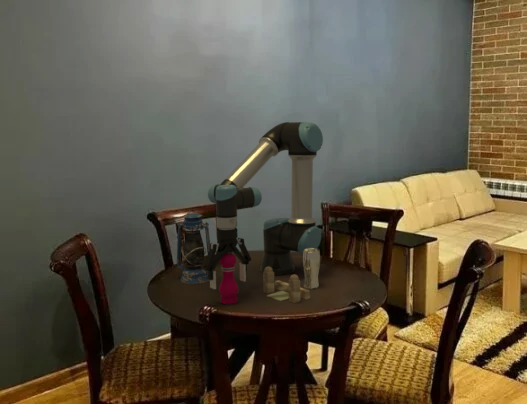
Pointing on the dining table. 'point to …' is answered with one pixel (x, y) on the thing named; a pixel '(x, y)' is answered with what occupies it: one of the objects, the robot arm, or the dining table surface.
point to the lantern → (193, 249)
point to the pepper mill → (228, 280)
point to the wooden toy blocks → (284, 287)
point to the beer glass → (311, 267)
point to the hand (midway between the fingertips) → (228, 284)
